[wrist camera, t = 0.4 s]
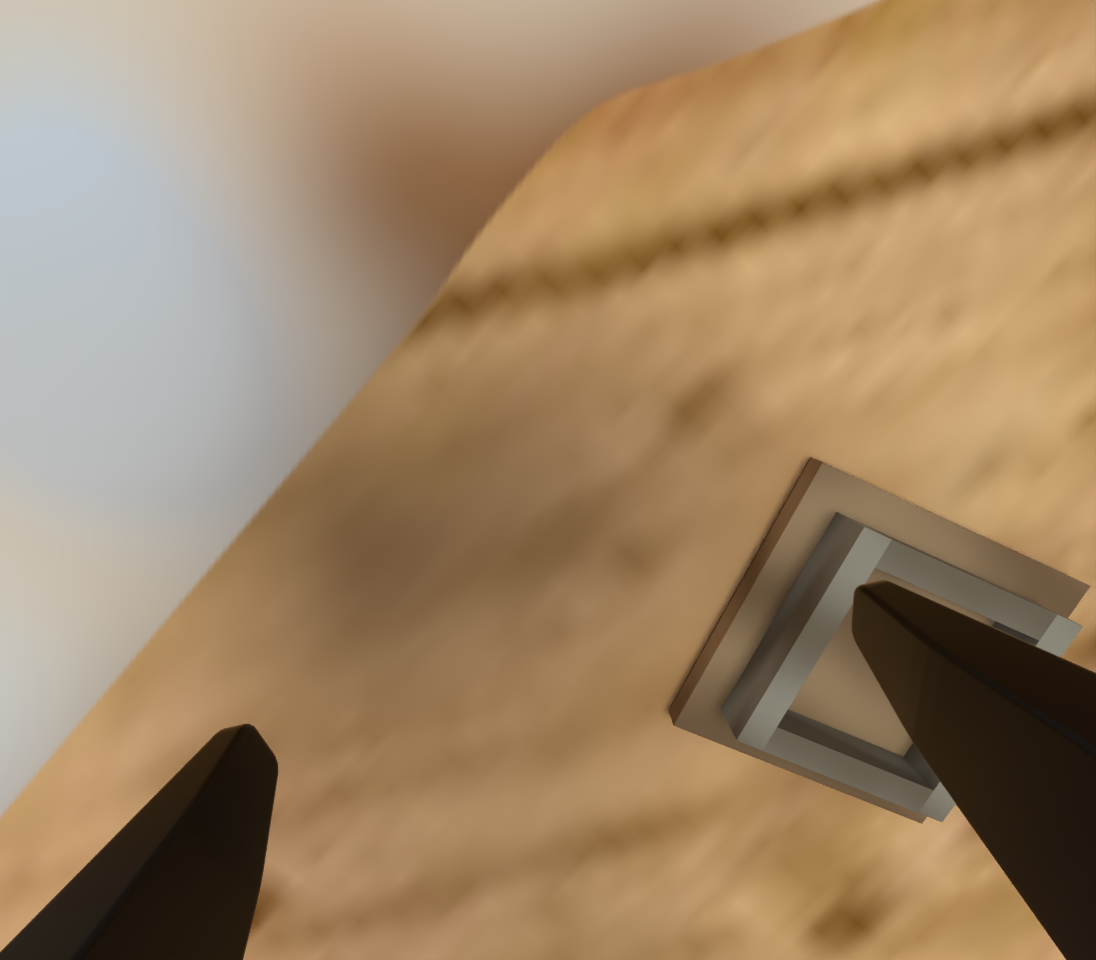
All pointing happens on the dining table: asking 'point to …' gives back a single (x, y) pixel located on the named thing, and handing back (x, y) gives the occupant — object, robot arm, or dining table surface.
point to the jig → (827, 641)
